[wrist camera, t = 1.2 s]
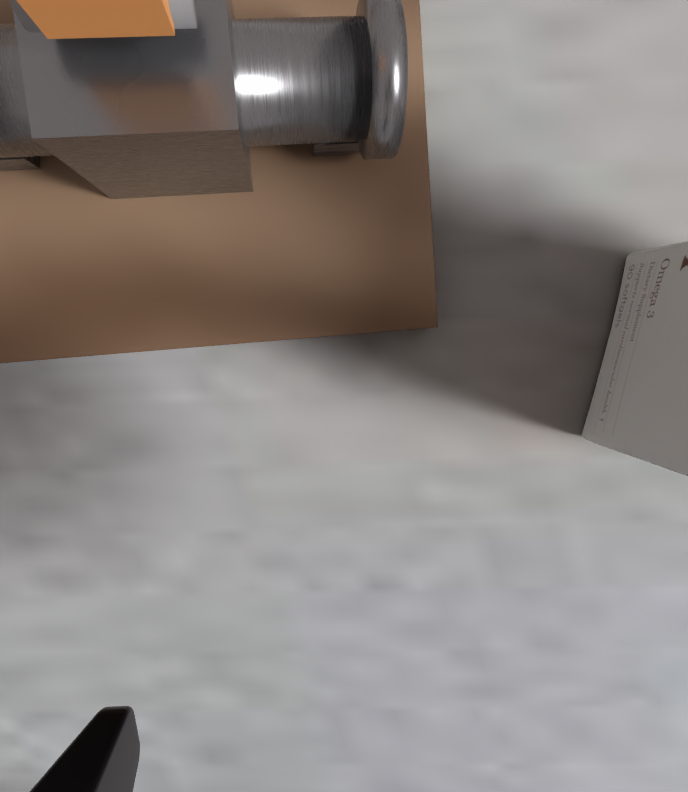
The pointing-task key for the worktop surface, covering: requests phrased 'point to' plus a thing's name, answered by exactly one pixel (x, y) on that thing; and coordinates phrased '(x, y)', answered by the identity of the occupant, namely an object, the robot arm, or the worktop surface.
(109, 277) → the valve board
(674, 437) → the supplement box
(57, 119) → the valve
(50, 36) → the valve lever
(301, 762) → the worktop surface
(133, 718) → the robot arm
